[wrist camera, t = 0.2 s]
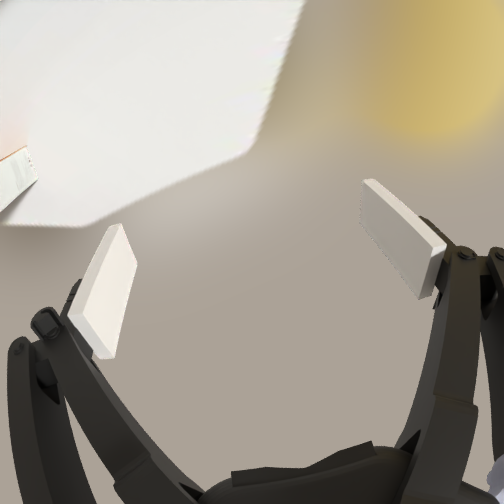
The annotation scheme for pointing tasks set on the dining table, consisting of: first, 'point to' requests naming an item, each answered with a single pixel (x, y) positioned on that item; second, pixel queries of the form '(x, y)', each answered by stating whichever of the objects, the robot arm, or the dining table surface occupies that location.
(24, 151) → the small box
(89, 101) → the dining table surface
